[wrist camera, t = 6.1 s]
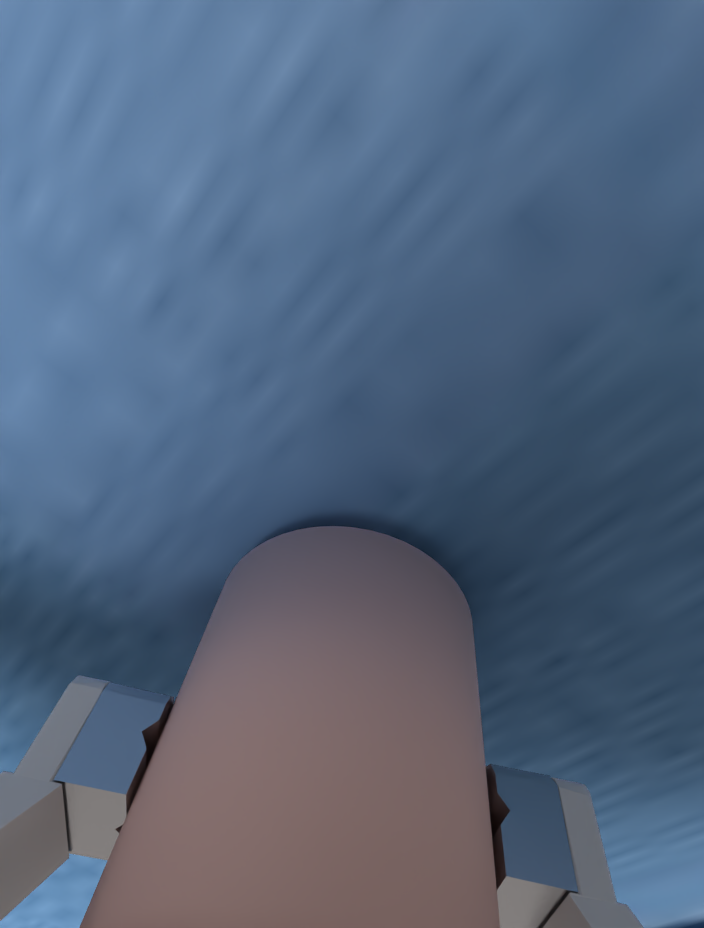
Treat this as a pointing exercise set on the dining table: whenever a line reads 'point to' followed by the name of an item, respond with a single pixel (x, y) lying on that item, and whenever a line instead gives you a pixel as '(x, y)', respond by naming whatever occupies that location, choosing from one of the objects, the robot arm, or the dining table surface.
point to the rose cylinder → (317, 754)
